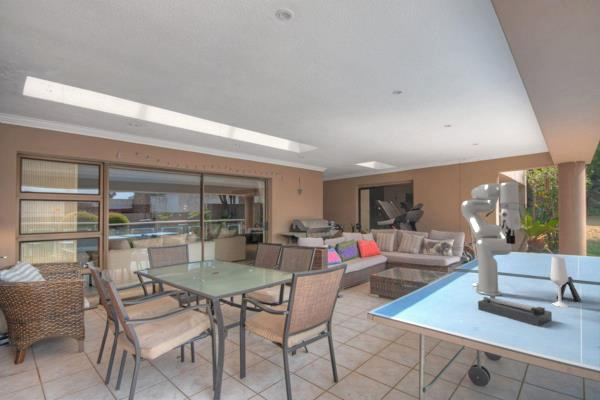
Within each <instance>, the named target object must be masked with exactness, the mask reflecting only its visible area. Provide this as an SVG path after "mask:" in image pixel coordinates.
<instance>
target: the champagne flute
mask: <svg viewBox="0 0 600 400" xmlns="http://www.w3.org/2000/svg"><path fill="white" fill-rule="evenodd" d="M567 272H568V271H567V265H566V260H565V256H564V257H563V256H556V255H555V256H554V255H553V256H551V265H550V275H549V277H550V280H551V282H552V283H554V284H555V285H556V286H557V295H558V299H557V300H558V301H555V302H553V303H551V305H552V304H553V305H552V306H554V305H555V306H556V307H559V306H560V307H561V308H569V307H568V306H569V305H568V304H566V303H564V302H563V301H562V300H561V287H562V285H564V284H565V283H566V282H567V281H569V279H568V277H567V276H568V273H567Z"/></svg>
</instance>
